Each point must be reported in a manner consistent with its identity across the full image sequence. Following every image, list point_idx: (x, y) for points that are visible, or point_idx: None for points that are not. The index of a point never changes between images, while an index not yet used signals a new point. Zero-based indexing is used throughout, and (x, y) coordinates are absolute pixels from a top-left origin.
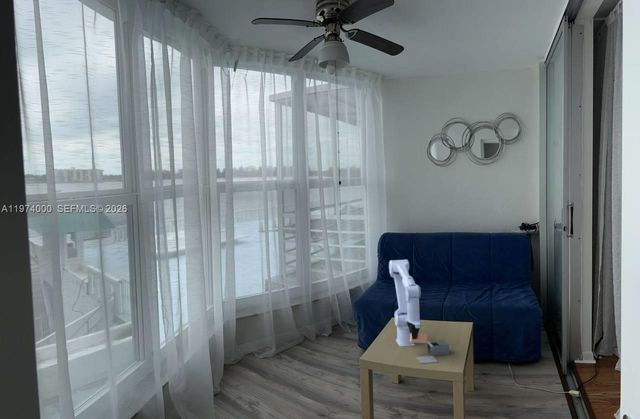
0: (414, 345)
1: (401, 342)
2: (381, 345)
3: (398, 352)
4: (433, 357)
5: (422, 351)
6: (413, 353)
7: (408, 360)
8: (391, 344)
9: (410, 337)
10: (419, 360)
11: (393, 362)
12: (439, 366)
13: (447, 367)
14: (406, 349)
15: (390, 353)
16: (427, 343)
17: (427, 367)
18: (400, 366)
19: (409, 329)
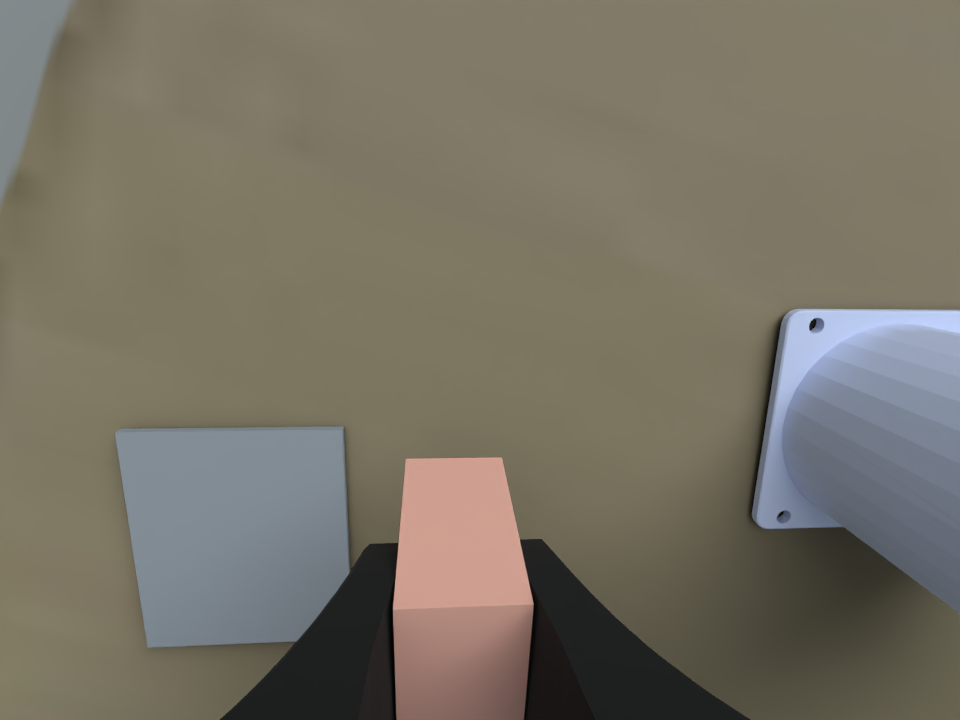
0: (752, 515)
1: (855, 355)
2: (944, 19)
3: (594, 223)
4: (291, 634)
5: None
6: (508, 428)
7: (270, 286)
8: (918, 205)
9: (478, 515)
10: (209, 435)
11: (214, 11)
12: (37, 624)
13: (5, 700)
14: (669, 374)
15: (587, 76)
16: None
17: (3, 475)
18: (42, 85)
19: (586, 671)
